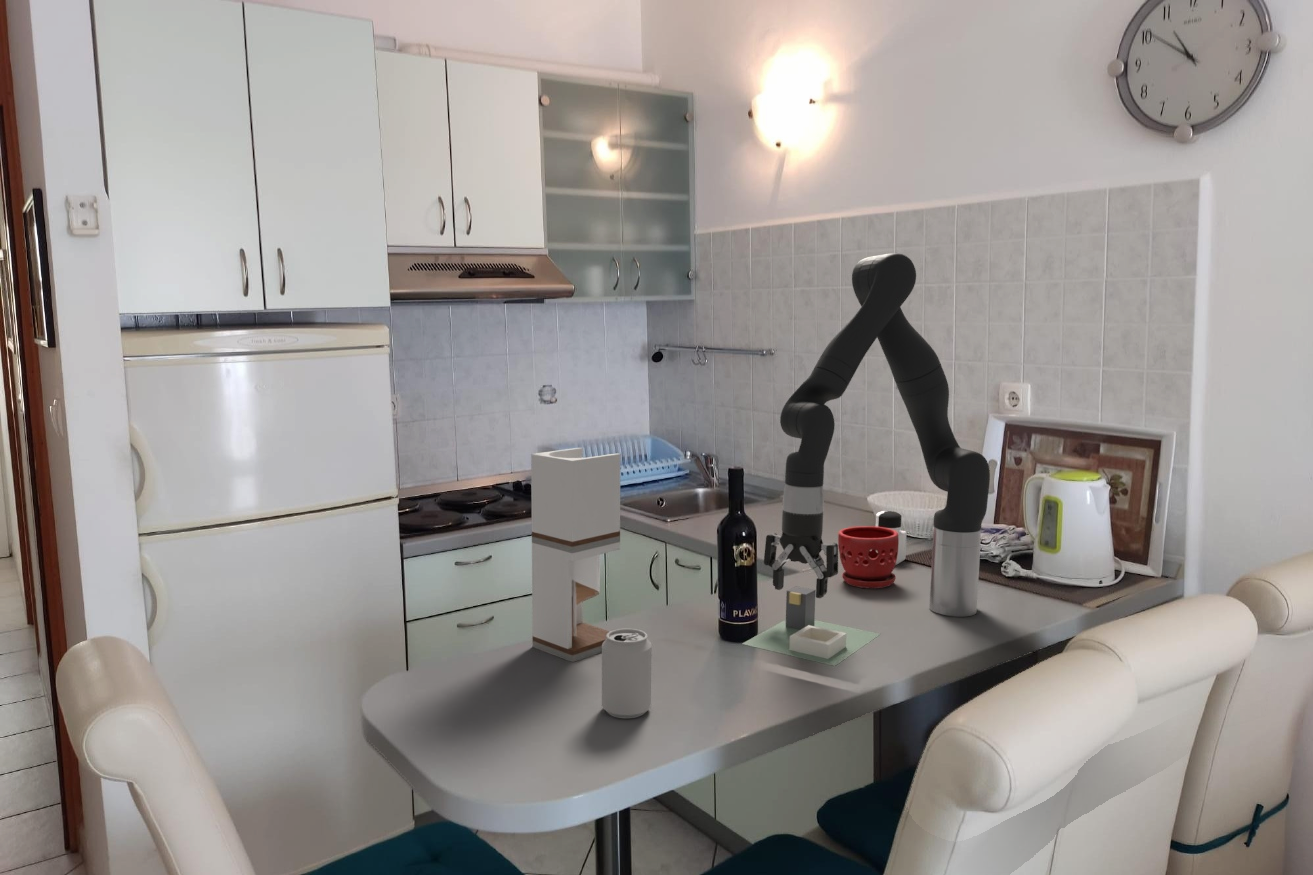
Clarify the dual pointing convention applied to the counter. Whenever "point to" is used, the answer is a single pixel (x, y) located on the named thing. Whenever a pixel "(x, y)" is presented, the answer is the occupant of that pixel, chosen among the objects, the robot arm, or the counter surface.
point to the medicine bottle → (893, 522)
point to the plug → (800, 607)
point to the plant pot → (868, 555)
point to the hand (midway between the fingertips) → (799, 593)
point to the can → (626, 673)
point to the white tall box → (571, 545)
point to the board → (813, 641)
